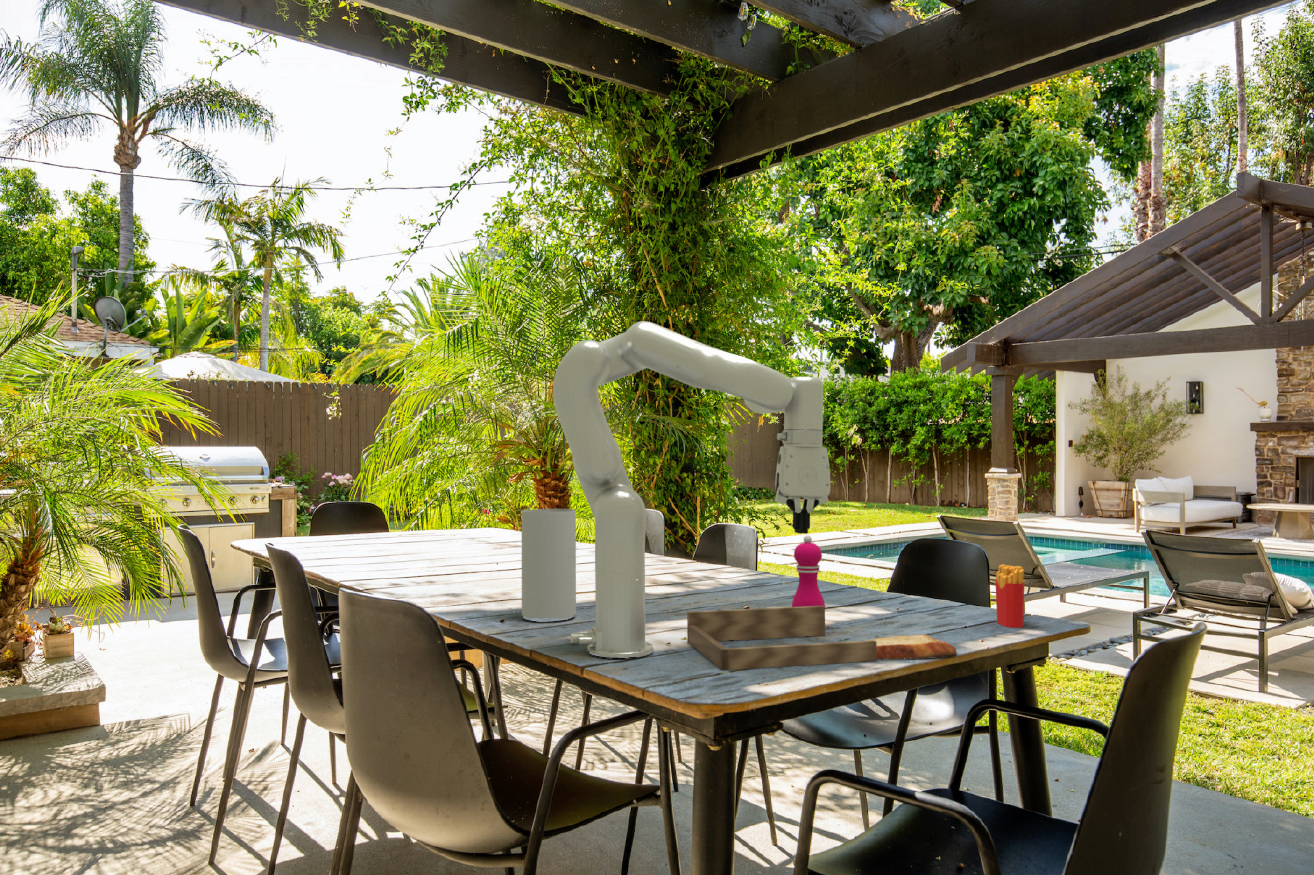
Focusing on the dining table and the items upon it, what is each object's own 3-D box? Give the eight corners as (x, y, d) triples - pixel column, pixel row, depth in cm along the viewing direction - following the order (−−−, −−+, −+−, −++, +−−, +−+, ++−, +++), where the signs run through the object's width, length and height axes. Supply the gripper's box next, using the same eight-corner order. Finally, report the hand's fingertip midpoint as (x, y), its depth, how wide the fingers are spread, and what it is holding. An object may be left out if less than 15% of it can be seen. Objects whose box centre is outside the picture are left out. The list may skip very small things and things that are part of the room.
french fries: (992, 621, 196) (991, 563, 196) (1011, 620, 196) (1010, 562, 197) (1010, 629, 187) (1009, 568, 187) (1030, 628, 187) (1029, 568, 187)
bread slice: (835, 659, 162) (834, 638, 162) (873, 642, 177) (872, 623, 177) (931, 672, 151) (930, 651, 151) (963, 653, 166) (962, 633, 166)
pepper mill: (825, 631, 186) (824, 537, 186) (791, 630, 187) (790, 536, 188) (825, 624, 193) (824, 534, 193) (792, 623, 194) (791, 533, 195)
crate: (722, 670, 152) (721, 635, 152) (687, 641, 176) (687, 611, 176) (876, 660, 159) (876, 627, 159) (822, 634, 182) (822, 605, 182)
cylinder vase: (556, 611, 212) (556, 508, 212) (586, 618, 202) (586, 510, 203) (511, 617, 204) (511, 510, 204) (540, 625, 194) (540, 512, 195)
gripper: (773, 438, 167) (771, 534, 167) (846, 440, 170) (844, 535, 169) (760, 439, 174) (758, 531, 174) (831, 441, 177) (829, 531, 177)
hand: (801, 532), depth 172 cm, fingers closed
